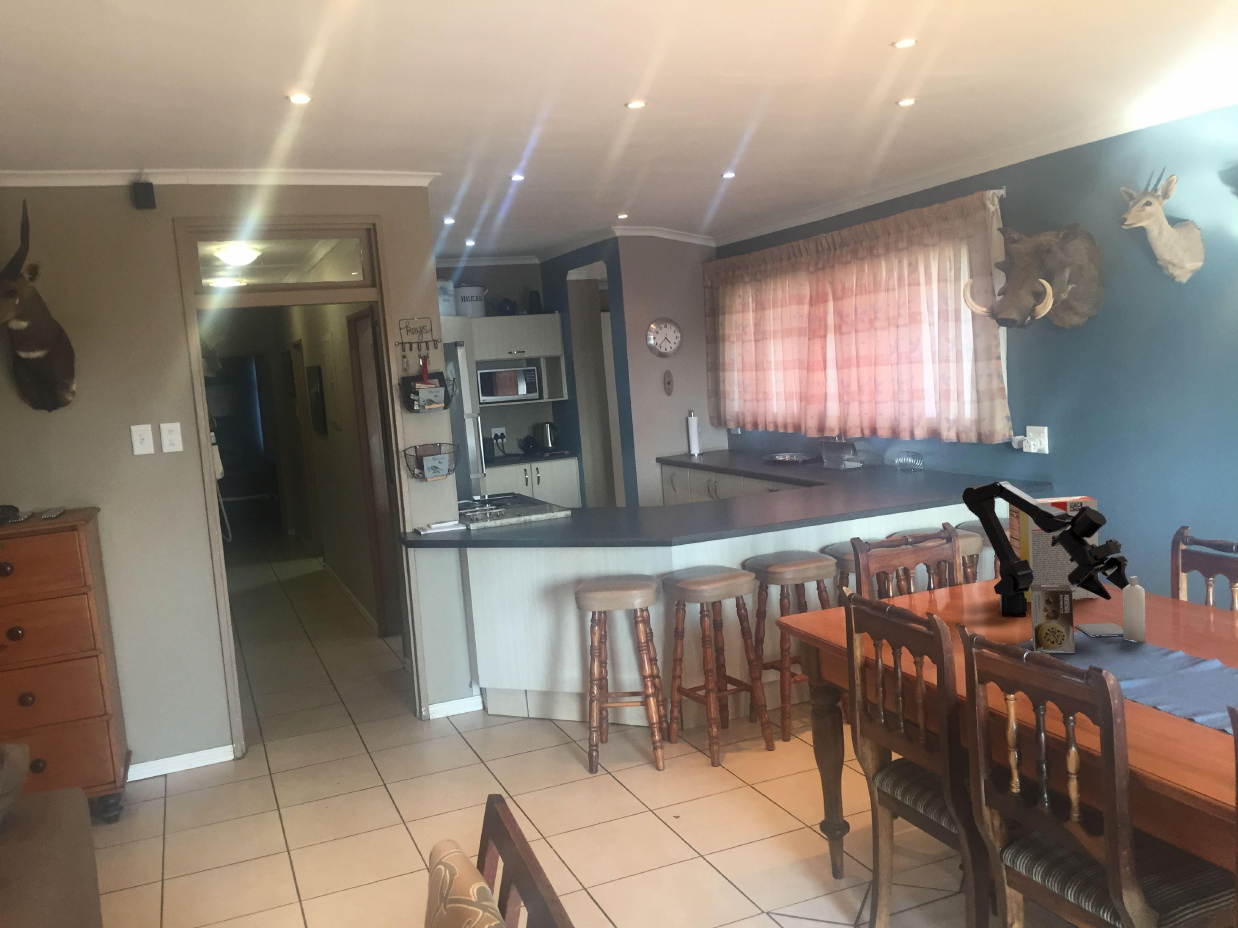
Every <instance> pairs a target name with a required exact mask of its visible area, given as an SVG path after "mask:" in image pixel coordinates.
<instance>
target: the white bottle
mask: <svg viewBox="0 0 1238 928" xmlns="http://www.w3.org/2000/svg"><path fill="white" fill-rule="evenodd" d="M1128 582H1129V585H1127V586H1126V587H1125V588H1123V590H1122V604H1123V605H1122V612H1123V614H1122V618H1123V621H1122V622H1123V624H1122V625H1123V629H1124V636H1123V639H1124V638H1125V639H1128V640H1134V641H1140V642H1139V643H1143V642H1146V599H1145V598H1146V597H1145V596H1146V595H1145V592H1146V590H1145V589H1144V588H1143V587H1142V585H1139V576H1136V575H1133V576H1129V577H1128Z"/></svg>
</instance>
